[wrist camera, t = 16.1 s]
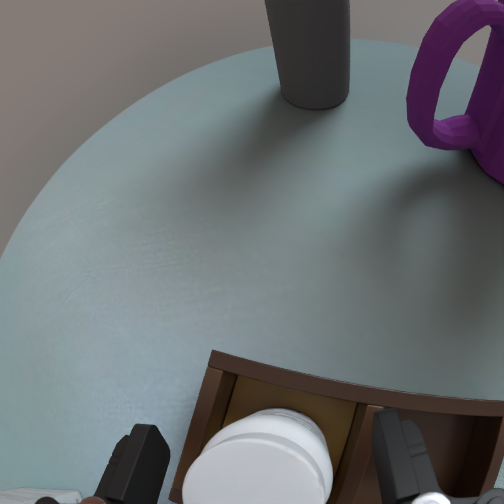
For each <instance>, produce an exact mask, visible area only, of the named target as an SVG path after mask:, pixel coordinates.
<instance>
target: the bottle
mask: <svg viewBox="0 0 504 504" xmlns="http://www.w3.org/2000/svg"><path fill="white" fill-rule="evenodd" d="M265 5H266V10H267V15H268V21H269V26H270V31H271V36H272V41H273V47H274V52H275V58H276V64H277V69H278V74H279V80H280V85H281V90H282V93H283V96H284V97H285V98H286V99H287V100H288V101H289V102H290V103H292V104H294V105H296V106H299V107H302V108H306V109H325V108H330V107H333V106H336V105H338V104H340V103H341V102H343V101H344V100H345V99H346V97H347V95H348V92H349V82H350V5H349V0H265Z"/></svg>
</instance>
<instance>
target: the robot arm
mask: <svg viewBox="0 0 504 504" xmlns="http://www.w3.org/2000/svg"><path fill="white" fill-rule="evenodd" d="M371 445H372V452H373V456H374V461H375V466H376V472H377V477H378V482H379V488H380V493H381V499H382V504H504V489H501V488H493V489H490V490H487V491H486V492H484V493H483V494H482V495H481V496H479V497H467V498H454V497H450V496H448V495H446V494H445V493H444V492H443V491H442V490H441V489H440V487H439V485H438V482H437V479H436V475H435V472H434V469H433V466H432V463H431V459H430V456H429V453H428V452H427V447H426V444H425V442H424V439H423V436H422V433H421V430H420V428H419V427H418V426H417V425H416V424H415V423H414V422H413V421H412V420H411V419H407V420H403V421H400V419H399V416H398V413H397V410H396V408H391V409H386V410H381V411H376V412H374V417H373V425H372V433H371ZM169 461H170V449H169V446H168V444H167V443H166V441H165V440H164V438H163V436H162V435H161V433H160V431H159V430H158V428H157V427H156V426H155V425H149V424H135V425H134V427H133V429H132V431H131V433H130V436H129V435H125V436H124V437H123V438H122V439H121V440H120V441H119V442H118V443H117V444H116V446H115V449H114V451H113V453H112V456H111V458H110V460H109V464H108V465H107V467H106V469H105V471H104V474H103V476H102V478H101V481H100V483H99V485H98V488H97V490H96V492H95V494H94V495H93V496H92V497H87V498H85V499H83V500H82V501H81V502H80V503H79V504H157V501H158V498H159V495H160V491H161V488H162V485H163V481H164V478H165V475H166V471H167V468H168V465H169ZM35 504H60V503H59V502H58V501H56V500H55V499H54V498H52V497H49V496H45V497H42V498H40V499H38V500H37V501H36V502H35Z"/></svg>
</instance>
